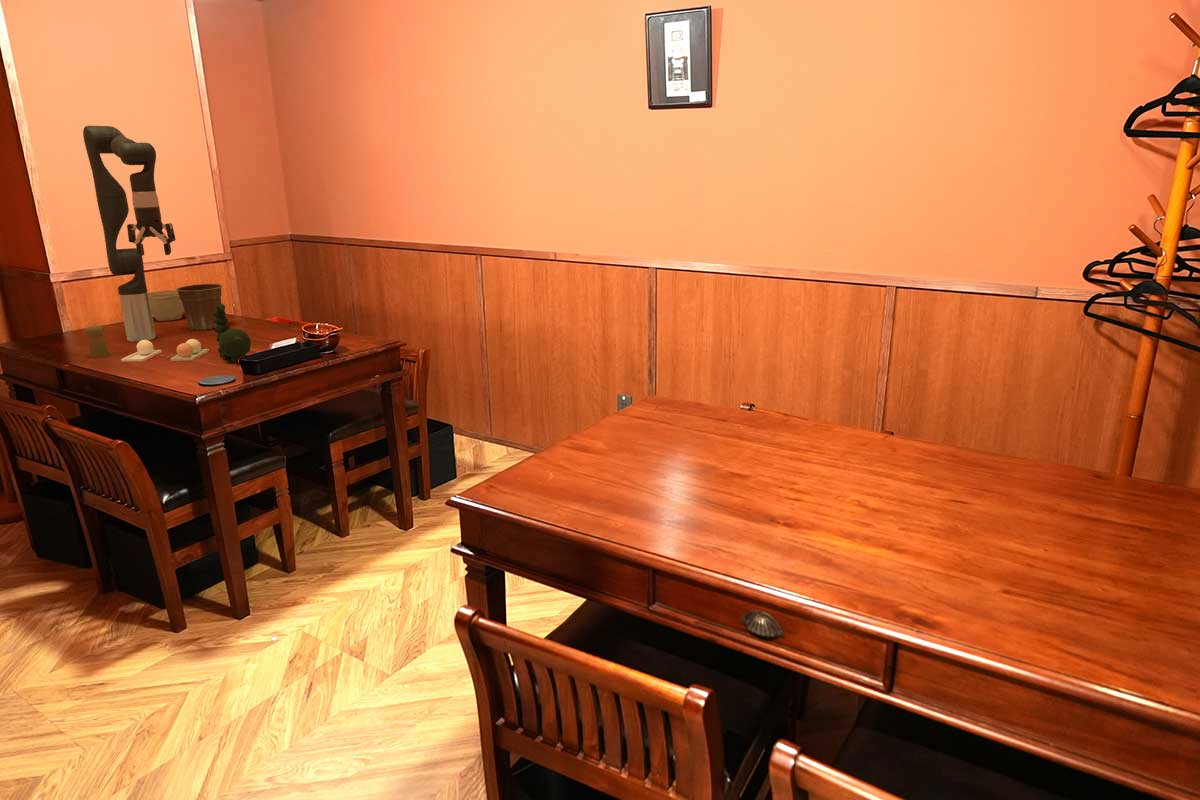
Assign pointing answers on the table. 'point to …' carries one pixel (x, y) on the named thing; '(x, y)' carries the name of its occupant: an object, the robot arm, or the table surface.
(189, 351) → the ball
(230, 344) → the toy figurine
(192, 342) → the ball
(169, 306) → the planter bowl
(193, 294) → the plant pot
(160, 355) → the card
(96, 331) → the olive green waisted cylinder
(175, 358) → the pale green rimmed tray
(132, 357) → the egg tray
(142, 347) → the ball
